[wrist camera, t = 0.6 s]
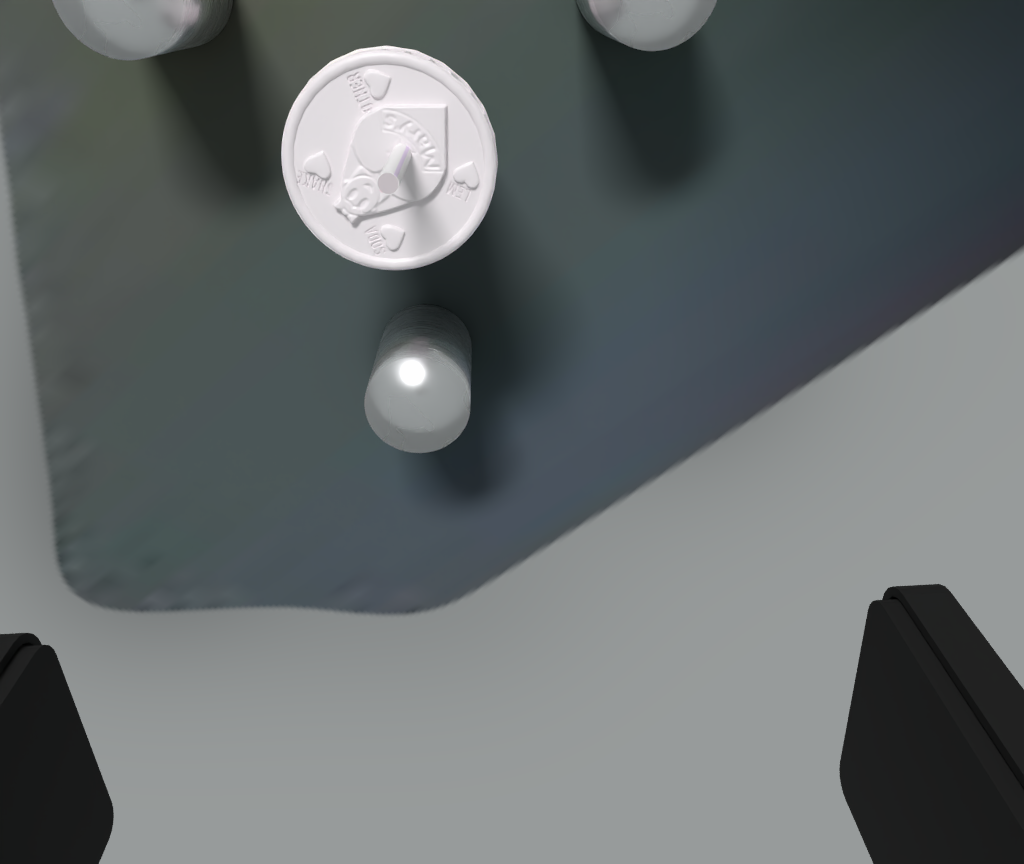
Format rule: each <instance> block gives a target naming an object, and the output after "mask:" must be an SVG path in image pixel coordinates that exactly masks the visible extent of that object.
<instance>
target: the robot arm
mask: <svg viewBox="0 0 1024 864" xmlns="http://www.w3.org/2000/svg"><path fill="white" fill-rule="evenodd" d="M840 780H841V786H842V790H843V794H844V796H845V799H846V801H847V804H848V806H849V808H850V810H851V813H852V815H853V818H854V820H855V822H856V824H857V827H858V829H859V831H860V834H861V836H862V838H863V840H864V843H865V845H866V847H867V850H868V852H869V854H870V857H871V859H872V861H873V864H1024V689H1023V688H1022V687H1021V685H1020V684H1019V683H1018V681H1017V680H1016V679H1015V677H1014V676H1013V675H1012V673H1011V672H1010V671H1009V670H1008V668H1007V667H1006V665H1005V664H1004V663H1003V661H1002V660H1001V659H1000V657H999V656H998V655H997V654H996V652H995V651H994V649H993V648H992V647H991V645H990V644H989V643H988V641H987V640H986V639H985V637H984V636H983V635H982V633H981V632H980V631H979V629H978V628H977V627H976V626H975V624H974V623H973V621H972V620H971V619H970V617H969V616H968V615H967V613H966V612H965V611H964V609H963V608H962V607H961V605H960V604H959V603H958V601H957V600H956V599H955V597H954V596H953V595H952V593H951V592H950V591H949V590H948V589H947V588H946V587H945V586H943V585H940V584H934V585H915V586H896V587H890V588H888V589H887V590H886V592H885V593H884V596H883V599H882V600H876V601H873V602H872V603H871V604H870V606H869V609H868V614H867V619H866V625H865V630H864V636H863V641H862V646H861V652H860V657H859V663H858V668H857V673H856V679H855V684H854V690H853V696H852V701H851V706H850V711H849V717H848V722H847V728H846V734H845V739H844V744H843V750H842V755H841V760H840ZM112 825H113V806H112V802H111V799H110V796H109V794H108V791H107V788H106V786H105V783H104V781H103V778H102V775H101V772H100V770H99V767H98V764H97V762H96V759H95V756H94V754H93V751H92V748H91V746H90V743H89V741H88V738H87V735H86V733H85V730H84V727H83V724H82V722H81V719H80V717H79V714H78V711H77V708H76V706H75V703H74V701H73V698H72V695H71V692H70V690H69V687H68V684H67V682H66V679H65V676H64V674H63V671H62V668H61V666H60V663H59V661H58V658H57V655H56V653H55V651H54V649H53V648H52V647H50V646H49V645H42V644H41V642H40V641H39V639H38V638H37V637H36V636H35V635H34V634H30V633H16V634H0V864H99V861H100V859H101V857H102V854H103V852H104V850H105V847H106V845H107V842H108V840H109V838H110V834H111V831H112Z"/></svg>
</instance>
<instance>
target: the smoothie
mask: <svg viewBox="0 0 1024 864" xmlns="http://www.w3.org/2000/svg"><path fill="white" fill-rule="evenodd" d="M281 157H282V169H283V176H284V180H285V184H286V188H287V190H288V193H289V196H290V199H291V201H292V203H293V205H294V207H295V209H296V211H297V213H298V214H299V216H300V217H301V219H302V220H303V222H304V223H305V225H306V226H307V227H308V228H309V229H310V231H311V232H312V233H313V234H314V235H315V236H316V237H317V238H318V239H319V240H320V241H321V242H322V243H324V244H325V245H326V246H327V247H328V248H330V249H331V250H333V251H334V252H336V253H337V254H339V255H341V256H343V257H344V258H346V259H348V260H351V261H353V262H355V263H358V264H361V265H364V266H367V267H372V268H376V269H383V270H407V269H414V268H418V267H422V266H426V265H429V264H431V263H434V262H436V261H438V260H441V259H443V258H444V257H446V256H448V255H449V254H451V253H452V252H454V251H455V250H456V249H458V248H459V247H460V246H461V245H462V244H463V243H465V242H466V241H467V240H468V238H469V237H470V236H471V235H472V234H473V233H474V231H475V230H476V229H477V227H478V226H479V224H480V223H481V221H482V219H483V218H484V216H485V214H486V212H487V209H488V207H489V204H490V201H491V199H492V195H493V192H494V189H495V182H496V174H497V167H498V158H497V149H496V141H495V134H494V131H493V128H492V126H491V123H490V121H489V118H488V115H487V113H486V110H485V108H484V106H483V104H482V103H481V102H480V100H479V99H478V97H477V96H476V95H475V93H474V92H473V90H472V89H471V88H470V86H469V85H468V83H467V82H466V81H465V80H463V79H462V78H461V77H460V76H459V75H457V74H456V73H455V72H454V71H453V70H451V69H450V68H449V67H448V66H447V65H445V64H444V63H443V62H441V61H438V60H436V59H434V58H432V57H430V56H427V55H425V54H423V53H421V52H419V51H417V50H411V49H405V48H399V47H392V46H380V47H372V48H364V49H357V50H355V51H353V52H351V53H348V54H346V55H344V56H341V57H339V58H337V59H335V60H332V61H331V62H330V63H328V64H327V65H326V66H325V67H324V68H323V69H321V70H320V71H319V72H318V73H317V74H316V75H314V76H313V77H312V78H311V79H310V80H309V81H308V83H307V84H306V86H305V87H304V89H303V90H302V91H301V92H300V94H299V95H298V97H297V99H296V100H295V102H294V104H293V106H292V108H291V110H290V112H289V115H288V118H287V121H286V124H285V128H284V132H283V139H282V150H281Z"/></svg>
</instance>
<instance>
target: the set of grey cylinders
mask: <svg viewBox="0 0 1024 864" xmlns="http://www.w3.org/2000/svg"><path fill="white" fill-rule="evenodd" d="M52 1H53V4H54V6H55V8H56V10H57V12H58V14H59V16H60V18H61V19H62V21H63V22H64V24H65V25H66V27H67V28H68V29H69V30H70V31H71V33H72V34H73V35H74V36H75V37H76V38H77V39H79V40H80V41H81V42H82V43H83V44H85V45H86V46H87V47H89V48H91V49H92V50H94V51H95V52H98V53H100V54H102V55H104V56H107V57H110V58H114V59H119V60H139V59H143V58H148V57H152V56H156V55H161V54H165V53H170V52H174V51H179V50H183V49H187V48H192V47H196V46H200V45H203V44H205V43H207V42H209V41H211V40H212V39H214V38H215V37H216V36H217V35H218V34H219V33H220V32H221V31H222V30H223V28H224V27H225V25H226V23H227V21H228V19H229V17H230V13H231V10H232V4H233V0H52ZM576 2H577V5H578V7H579V10H580V12H581V14H582V15H583V17H584V19H585V20H586V21H587V22H588V24H589V25H590V26H591V27H592V28H593V29H595V30H596V31H598V32H599V33H601V34H603V35H604V36H606V37H609V38H611V39H613V40H616V41H618V42H620V43H623V44H625V45H627V46H629V47H632V48H635V49H639V50H644V51H661V50H665V49H670V48H672V47H675V46H677V45H679V44H681V43H683V42H685V41H686V40H688V39H689V38H690V37H692V36H693V35H694V34H695V33H696V32H697V31H698V30H699V29H700V28H701V27H702V26H703V25H704V24H705V22H706V21H707V19H708V18H709V16H710V15H711V13H712V11H713V9H714V7H715V4H716V2H717V0H576ZM471 363H472V343H471V338H470V335H469V332H468V330H467V328H466V326H465V325H464V324H463V322H462V321H461V320H460V319H459V318H458V317H457V316H456V315H455V314H453V313H452V312H450V311H448V310H446V309H444V308H442V307H439V306H435V305H425V304H423V305H415V306H411V307H408V308H406V309H404V310H402V311H400V312H399V313H397V314H396V315H395V316H394V317H392V318H391V320H390V321H389V322H388V324H387V325H386V327H385V329H384V331H383V334H382V337H381V341H380V345H379V348H378V352H377V355H376V359H375V362H374V366H373V369H372V373H371V376H370V380H369V384H368V387H367V391H366V394H365V401H364V404H365V413H366V417H367V420H368V422H369V424H370V426H371V428H372V429H373V431H374V432H375V433H376V434H377V435H378V436H379V437H380V438H381V439H382V440H383V441H384V442H386V443H387V444H389V445H391V446H392V447H394V448H397V449H399V450H402V451H406V452H412V453H427V452H432V451H436V450H439V449H441V448H444V447H446V446H447V445H449V444H451V443H452V442H453V441H454V440H456V439H457V438H458V437H459V435H460V434H461V433H462V432H463V430H464V429H465V427H466V425H467V422H468V419H469V415H470V400H471Z"/></svg>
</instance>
